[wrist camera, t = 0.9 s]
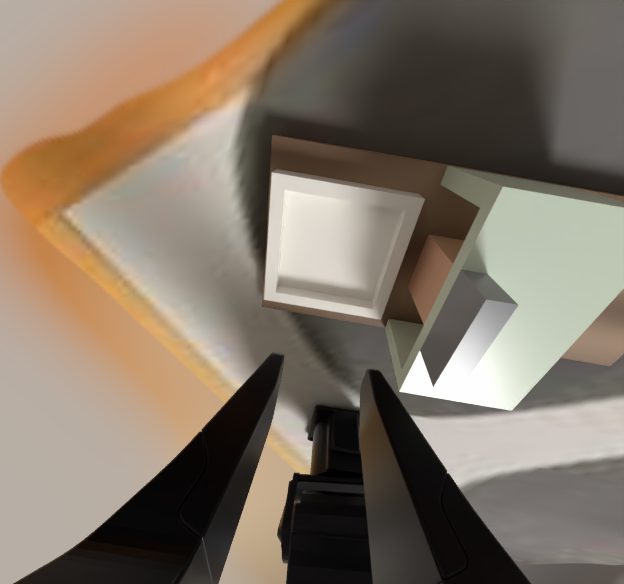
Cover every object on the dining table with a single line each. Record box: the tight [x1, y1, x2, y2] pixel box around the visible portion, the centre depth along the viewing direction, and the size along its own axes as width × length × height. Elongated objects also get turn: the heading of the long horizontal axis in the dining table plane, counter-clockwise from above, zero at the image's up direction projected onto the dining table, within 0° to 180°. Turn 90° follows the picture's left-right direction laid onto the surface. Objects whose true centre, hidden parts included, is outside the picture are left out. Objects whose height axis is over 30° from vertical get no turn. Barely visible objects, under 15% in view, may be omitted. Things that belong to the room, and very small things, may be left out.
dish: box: [264, 169, 425, 320], centre depth 18 cm, size 9×9×1 cm
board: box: [262, 134, 624, 366], centre depth 19 cm, size 12×28×1 cm, turn 82°
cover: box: [385, 166, 624, 411], centre depth 15 cm, size 12×7×8 cm, turn 172°
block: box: [408, 234, 464, 324], centre depth 16 cm, size 4×4×5 cm
